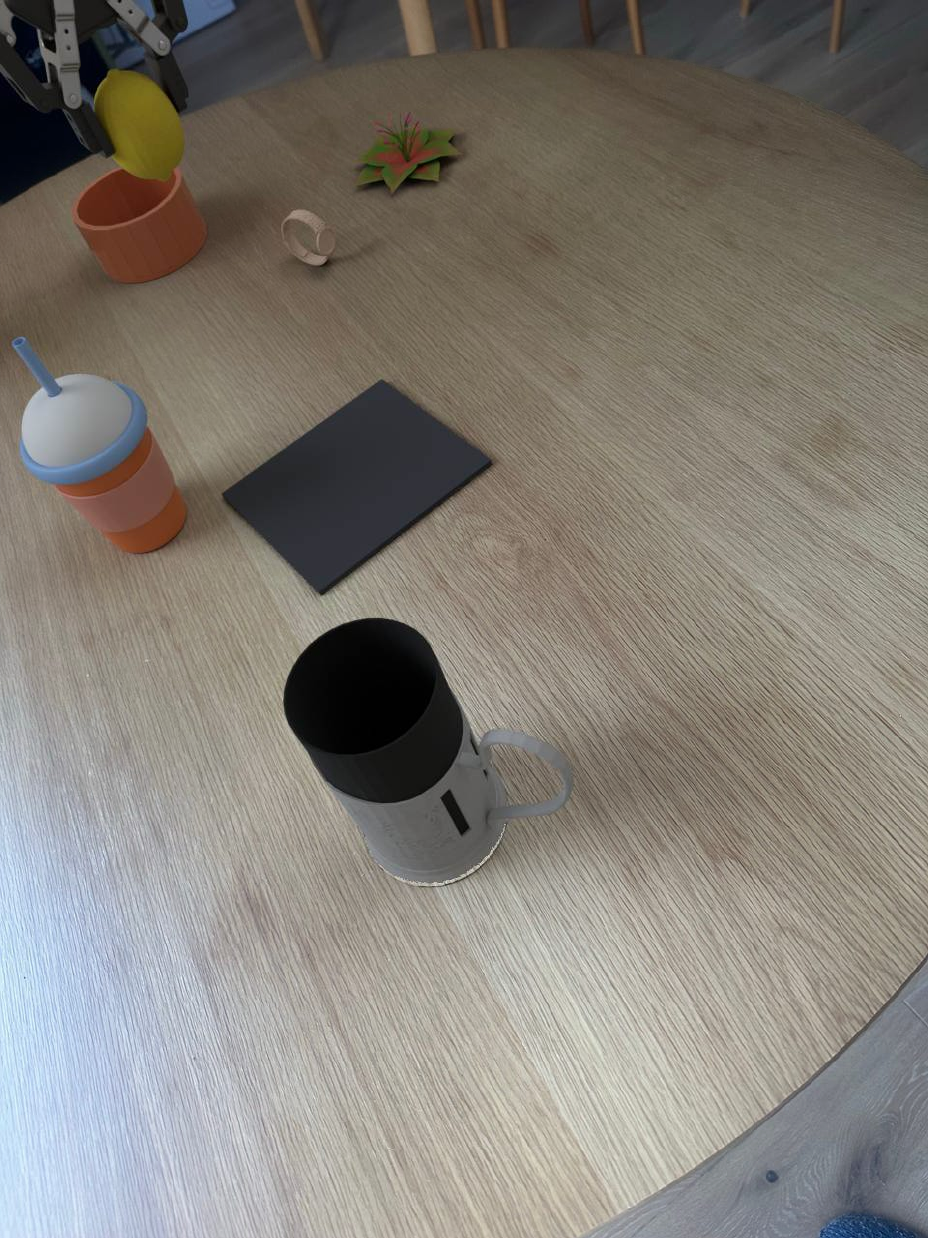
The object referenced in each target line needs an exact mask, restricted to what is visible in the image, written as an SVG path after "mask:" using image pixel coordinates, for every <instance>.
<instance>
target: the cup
mask: <svg viewBox="0 0 928 1238" xmlns="http://www.w3.org/2000/svg"><path fill="white" fill-rule="evenodd" d="M70 213H71V218H72V221H73V223H74V224H75V226H76V228H77V230H78V231H79V233H80V235H81V236H82V238H83V240H84V241H85V243H86V245H87V246H88V248H89V250H90V251H91V253H92V255H93V257H94V258H95V260H96V261H97V264H98V265H99V267H100V269H102V271H103V272H104V273H105V275H106V276H107V277H108V278H109V279H111V280H113V281H115V282H119V283H122V284H123V283H124V284H140V283H145V282H150V281H153V280H157V279H160V278H162V277H165V276H167V275H169V274H172V273H173V272H175V271H177V270H179V269H180V268H181V267H183V266H184V265H186V264H187V263H189V262H190V261H191V260H192V259H193V258H194V257H195V256H196V255H198V253H199V252H200V250H202V248H203V247H204V244H205V242H206V241H207V237H208V227H207V224H206V222H205V220H204V217H203V215H202V213H201V211H200V209H199V207H198V205H197V203H196V200H195V199H194V196H193V193H192V192H191V190H190V188H189V186H188V183H187V181H186V179H185V177H184V175H183V173H182V171H181V168H180V167H179V165H178V166H177V167H176V168H175V169H174V170H173V171H172V174H171V177H170V179H169V180H168V181H165V182H163V181H160V180H158V179H144V178H140V177H137V176H134V175H132V174H131V173H129V172H127V171H126V170H124V169H123V168H122V167H121V166H118V167H116V168H114V169H111V170H109V171H107V172H106V173H104V174H102V175H101V176H99V177H97V178H96V179H94V180H93V181H91V183H89V184H88V185H87V186H86V187H85V188H84V189H83V190H81V192H80V193H79V195H78V196H77V197H76V198H75V200H74V201H73V204H72V208H71V211H70Z"/></svg>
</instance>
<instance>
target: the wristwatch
mask: <svg viewBox="0 0 928 1238" xmlns="http://www.w3.org/2000/svg"><path fill="white" fill-rule="evenodd" d="M291 220H297V221H298V220H299V221H300V222H303V223H305V224H307V226H309V227H310V228H311V229H312V230H313V231H314V234H315V235H317V236H316V247H317V250H318V253H319V254H321V255H317V254H315V253H312V252H311V251H309V250H308V249H306V248H305V247H304V246H303V245H302V244H301V243H300V242H299V240H298V239H297V237H296V235H295V234H294V232H293V229H292V226H291ZM325 225H326V221H323V220H322V219H321V218H320V217H319V216H317V215H316V214H314V213H312V212H311V211H309V210H305V209H294V210H293V211H291V212H290V213H289V214H288V216H287V217H286V218H285V219H284V220H283V221H282V224H281V228H280V229H281V230H280V231H281V236H282V239H283V242H284V243H285V245H286V247H287V248H288V249H289V250H290V252H291V253H292V254H293V255H294V256H295V257H297V258H298V259H299V260H300V261H302V262H304V263H306V264H308V265H310V266H315V267H316V266H322V265H324V263H326V262H327V261H328V260H329V258H330V257H331V256H332V255H333V254H334V252H335V250H336V243H337V237H336V232H335V231H334V229H333V228H332V227H331V226H328V225H326V226H325Z"/></svg>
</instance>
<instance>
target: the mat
mask: <svg viewBox="0 0 928 1238" xmlns="http://www.w3.org/2000/svg"><path fill="white" fill-rule="evenodd" d="M492 465H493V462H492V459H491V458H489V457H488V456H487V455H486V454H485V453H483V452H481V451H480V450H479V449H477V448H476V447H475V446H473V445H472V444H471V443H469V442H468V441H467V440H465V439H464V438H462V437H461V436H460V435H458V434H457V433H456V432H454V431H453V430H451V429H450V428H449V427H448V426H446V425H445V424H444V423H442V422H441V421H439V420H438V419H437V418H436V417H434V416H433V415H431V414H430V413H428V412H427V411H426V410H424V409H423V408H422V407H421V406H419V405H418V404H416V403H415V402H414V401H413V400H411V399H409V398H408V397H407V396H405V394H403V393H402V392H400V391H399V390H398V389H396V388H395V387H394V386H392V385H391V384H389V382H386V381H385V380H384V379H382V378H381V379H379V380H378V381H377V382H375V383H373V385H371V386H369V387H368V388H367V389H366V390H364V391H363V392H361V393H360V394H358V395H357V396H356V397H354V398H352V399H351V400H350V401H349V402H347V403H346V404H344V405H343V406H342V407H340V408H338V410H336V411H334V412H333V413H332V414H330V415H329V416H327V417H326V418H325V419H323V420H322V421H320V422H319V423H317V425H315V426H314V427H313V428H311V429H309V430H308V431H307V432H306V433H304V434H303V435H301V436H300V437H298V438H297V439H296V440H294V441H293V442H291V443H290V444H289V445H287V446H286V447H285V448H283V449H282V450H280V451H279V452H277V453H276V454H274V455H273V456H272V457H270V458H269V459H267V460H266V461H265V462H263V463H261V465H259V466H258V467H257V468H255V469H254V470H252V471H251V472H250V473H248V474H247V475H245V476H244V477H243V478H241V479H239V480H238V481H237V482H236V483H234V484H233V485H232V486H230V487H229V488H227V489H226V490H224V491H222V493H221V496H222V497H223V499H224V500H226V502H228V504H229V505H230V506H231V507H233V509H234V510H235V511H236V512H237V513H238V514H239V515H240V516H241V517H242V518H243V519H244V520H245V521H246V522H247V524H249V525H250V526H251V527H252V528H253V529H254V530H255V531H256V532H257V533H258V534H259V535H260V536H261V538H263V539H264V540H265V541H266V542H267V543H268V544H269V546H271V547H272V548H273V549H274V550H275V551H276V552H277V553H278V554H279V555H280V556H281V557H282V558H283V559H284V560H285V561H286V562H287V563H288V565H290V566H291V567H292V569H294V570H295V571H296V572H297V573H298V574H299V575H300V577H301V578H303V579H304V580H305V581H306V583H308V584H309V586H310V587H311V588H312V589H313V590H314V591H315V592H316V593H318V595H319V596H322V595H324V594H325V593H326V592H328V591H329V590H330V589H332V588H333V587H334V586H335V585H338V584H339V582H341V581H342V580H344V579H345V578H346V577H348V576H349V575H350V574H352V572H354V571H356V569H358V568H359V567H360V566H362V565H363V564H365V563H366V562H367V561H369V560H370V559H371V558H372V557H373V556H375V555H376V554H377V553H378V552H380V551H382V550H383V549H384V548H385V547H387V546H388V545H389V544H390V543H392V542H393V541H394V540H396V539H397V538H398V537H399V536H401V535H402V534H403V533H405V532H406V531H407V530H409V529H410V528H411V527H413V526H414V525H415V524H416V523H418V522H419V521H420V520H421V519H423V518H424V517H426V516H427V515H428V514H430V513H431V512H432V511H434V510H435V509H436V508H437V507H439V506H440V505H441V504H442V503H444V502H445V501H447V500H448V499H449V498H451V496H453V495H455V494H456V493H457V492H458V491H459V490H461V489H462V488H463V487H465V486H466V485H467V484H468V483H470V482H471V481H473V480H474V479H475V478H476V477H478V475H480V474H481V473H482V472H484V471H486V470H487V469H488V468H490V467H491V466H492Z"/></svg>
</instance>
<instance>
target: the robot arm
mask: <svg viewBox="0 0 928 1238" xmlns="http://www.w3.org/2000/svg"><path fill="white" fill-rule="evenodd" d="M150 3H151V7H152V9H153V10H152V11H153V15H154V17H153V18H152V19H151V20H150V17H149V16H148V14H146V12H144V10H143V9H142V8H141V7H140V6H139V5H138V4H137V3H136V2H135V1H134V0H0V73H1V74H2V76H3V77H4V78H5V79H6V81H7V82H8V83H9V84H10V85H11V87H12V88H13V89H14V91H16V93H17V94H18V95H19V96H20V98H21V99H22V100H23V101H24V102H25V103H27V104H28V105H30V106H32V107H34V108H35V109H36V110H37V111H39V112H40V113H42V114H50V113H51V112H52V111H53V110H62V112H63V113H64V116H65V117H66V119H67V120H68V122H69V125H70V126H71V128H72V130H73V131H74V133H75V136H76V138H77V139H78V141H79V142H80V144H81V145H82V146H84V147H85V149H87V150H89V151H90V152H91V153H93V154H94V155H97V154H98V155H100V156H101V157H103V158H104V159H109V158H110V157H112V155H114V154H115V151H114V149H113V147H112V145H111V143H110V141H109V139H108V137H107V135H106V133H105V132H104V130H103V128H102V126H101V124H100V122H99V120H98V118H97V117H96V115H95V113H94V108H93V107H92V105H91V103H90V102H88V101H87V100H86V99H84V98H83V93H82V86H81V79H80V72H79V71H80V68H81V57H80V49H79V45H81V44H83V43H84V42H85V43H86V41H88V40H89V39H90V38H91V37H92V36H93V35H94V34H95V33H96V32H97V31H98V30H104V29H107V28H111V27H112V26H114V25H115V24H118V25H119V26H121V28H123V29H124V30H125V31H126V32H127V33H128V34H129V35H130V36H131V37H132V39H134V40H135V41H136V42H137V43H138V44H139V45H140V46H141V47H143V48H144V51H145V52H143V53H142V54H141V55H142V57H143V59H144V61H145V64H146V65H147V68H148V69H149V71H150V75H151V76H152V78H153V81H154V82H156V83H157V84H158V85H159V86H160V87H161V89H162V90H163V91H164V92H165V94H166V95H167V96H168V98H169V99H170V101H171V102H172V104H173V106H174V107H175V109H176V112H177V114H181V113H182V112H184V111H186V110H187V109H188V108H189V107H188V104H187V101H186V100H187V99H188V98H189V97H190V96H189V95H190V94H189V87H188V85H187V83H186V81H185V77H184V76H183V74H182V71H181V69H180V67H179V65H178V62H177V60H176V58H175V56H174V53H173V49H172V47H173V42H174V40H175V39H176V38H177V37H178V35H179V34H181V33H185V32H186V31H187V29H188V27H189V19H188V15H187V11H186V7H185V3H184V0H150ZM14 17H17V18H18V19H20V20H22V21H23V22H24V23H27V24H29V25H30V26H31V27H34V28H35V29H36V32H37V38H38V42H39V43H38V44H39V50H40V54H41V58H42V59H43V61H44V66H45V71H46V77H47V82H42V83H41V82H40V80H39V79H38V78H37V76H36V75H35V74H34V72H33V71H32V70H31V69H30V68H29V66H28V65H27V63H26V62H25V61H24V60H23V59H22V58H21V56H20V54H19V53H17V51H16V50H15V49H14V46H15V45H16V42H17V34H16V32H15V31H14V30H13V26H12V20H13V19H14Z"/></svg>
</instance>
